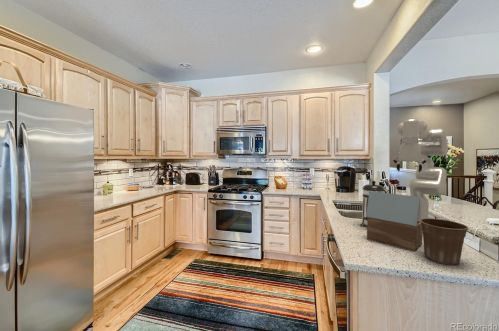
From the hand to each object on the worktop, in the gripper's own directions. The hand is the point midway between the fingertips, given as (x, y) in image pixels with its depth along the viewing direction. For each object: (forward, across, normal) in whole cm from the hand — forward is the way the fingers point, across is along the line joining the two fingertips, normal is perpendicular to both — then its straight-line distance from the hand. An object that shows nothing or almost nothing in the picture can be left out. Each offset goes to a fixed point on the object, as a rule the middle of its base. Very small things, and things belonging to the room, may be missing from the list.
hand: (408, 171), depth 131 cm
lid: (+18, +6, +20) cm, 28 cm away
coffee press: (+37, +18, -8) cm, 42 cm away
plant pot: (+38, -14, +27) cm, 48 cm away
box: (+37, +5, +15) cm, 41 cm away
